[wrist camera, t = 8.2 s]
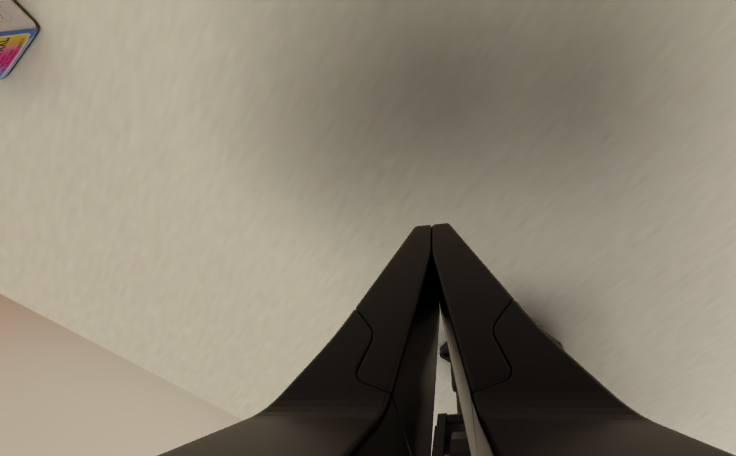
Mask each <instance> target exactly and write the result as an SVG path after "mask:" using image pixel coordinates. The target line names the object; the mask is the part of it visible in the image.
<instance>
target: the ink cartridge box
mask: <svg viewBox="0 0 736 456" xmlns="http://www.w3.org/2000/svg"><path fill="white" fill-rule="evenodd" d="M37 31H38V29H37V27H36V25H35V23H34V22H33V21H32V20H31V19H30V18H29V17H28V16H27V15H26V14H25V13H24V12H23V11H22V10H21V9H20V8H19V7H18V6H17V5H16V4H15V3H14V2H13V1H12V0H0V79H3V78H5V77H6V76H7V74H8V73H9V72H10V70H11V69H12V68H13V66H14V65H15V63H16V62H17V60H18V59H19V58H20V56H21V55H22V53H23V52H24V51H25V49H26V48H27V46H28V45H29V43H30V42H31V41H32V39H33V38H34V36H35V35H36V33H37Z"/></svg>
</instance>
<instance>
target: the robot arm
mask: <svg viewBox="0 0 736 456" xmlns="http://www.w3.org/2000/svg"><path fill="white" fill-rule="evenodd" d="M439 302H440V303H439ZM440 309H441V315H442V320H443V325H444V329H445V334H446V339H447V343H446V344H445V345H444V346H443V347H441V348H440V357H441V358H443V359H445V360H446V361H448V362H450V363H451V376H452V389H453V391H454V392H456V397H457V412H458V414H450V415H447V413H442V414H438V418H437V426H435V431H434V441H433V450H432V456H735V455H733V454H730V453H728V452H725V451H723V450H721V449H718V448H716V447H713V446H711V445H708V444H706V443H703V442H701V441H699V440H696V439H694V438H691V437H689V436H686V435H684V434H681V433H679V432H677V431H674V430H672V429H669V428H667V427H664V426H662V425H660V424H657V423H655V422H653V421H651V420H649V419H647V418H645V417H644V416H642V415H640V414H639V413H637V412H636V411H634V410H633V409H631V408H630V407H628V406H627V405H626V404H624V403H623V402H622V401H620V400H619V399H618V398H617V397H616V396H614V395H613V394H612V393H611V392H610V391H609V390H608V389H606V388H605V387H604V386H603V385H602V384H601V383H600V382H599V381H598V380H596V379H595V378H594V377H593V376H592V375H591V374H590V373H589V372H588V371H586V370H585V369H584V368H583V367H582V366H581V365H580V364H579V363H578V362H576V361H575V360H574V359H573V358H572V357H571V356H570V355H569V354H568V353H566V352H565V351H564V349H563V346H562V345H561V344H560V343H558V342H556V341H555V340H553V339H551V338H550V337H549V336H548V335H547V334H546V333H545V332H544V331H543V330H542V329H541V328H540V327H539V326H538V325H537V324H536V323H535V322H534V321H533V320H532V319H531V318H530V316H529V315H528V314H527V313H526V312H525V311H524V310H523V309H522V308H521V306H520V305H519V304H518V303H517V302H516V301H514V298H513V297H512V296H511V295H510V294H509V293H508V292H507V290H506V289H505V288H504V287H503V286H502V285H501V283H500V282H499V281H498V280H497V279H496V278H495V276H494V275H493V274H492V273H491V272H490V271H489V270H488V268H487V267H486V266H485V265H484V264H483V263H482V261H481V260H480V259H479V258H478V257H477V256H476V255H475V253H474V252H473V251H472V250H471V249H470V248H469V246H468V245H467V244H466V243H465V242H464V241H463V239H462V238H461V237H460V236H459V235H458V234H457V233H456V231H455V230H454V229H453V228H452V227H451V226H450V225H449V224H448V223H444V224H435V225H433V226H432V227H431V226H430V225H425V226H417V227H415V228H414V229H413V230H412V232H411V233H410V235H409V236H408V237H407V239H406V240H405V241H404V243H403V244H402V245H401V247H400V248H399V250H398V251H397V252H396V254H395V255H394V256H393V258H392V259H391V261H390V262H389V263H388V265H387V266H386V267H385V269H384V270H383V271H382V273H381V274H380V276H379V277H378V278H377V280H376V281H375V282H374V284H373V285H372V286H371V288H370V289H369V291H368V292H367V293H366V295H365V296H364V297H363V299H362V300H361V302H360V303H359V304H358V306H357V307H356V310H354V311H353V312H352V314H351V315H350V316H349V318H348V319H347V320H346V322H345V323H344V324H343V326H342V327H341V328H340V329H339V331H338V332H337V333H336V335H335V336H334V337H333V338H332V339H331V340H330V342H329V343H328V344H327V345H326V346H325V347H324V348H323V350H322V351H321V352H320V353H319V354H318V355H317V356H316V357H315V358H314V359H313V361H312V362H311V363H310V364H309V365H308V366H307V367H306V368H305V369H304V370H303V371H302V372H301V374H300V375H299V376H298V377H297V378H296V379H295V380H294V381H293V382H292V383H291V384H290V385H289V387H288V388H287V389H286V390H285V391H284V392H283V393H282V394H281V395H280V396H279V397H278V398H277V399H276V400H275V401H274V402H273V403H272V404H270V405H269V406H268V407H267V408H265V409H264V410H263V411H261V412H260V413H258V414H256V415H255V416H253V417H251V418H248V419H246V420H244V421H241V422H239V423H237V424H234V425H232V426H229V427H227V428H224V429H222V430H219V431H217V432H215V433H212V434H209V435H207V436H205V437H202V438H200V439H197V440H195V441H192V442H190V443H187V444H185V445H183V446H180V447H178V448H175V449H173V450H170V451H168V452H165V453H163V454H160V455H158V456H431V444H432V428H433V412H434V397H435V381H436V365H437V349H438V333H439V317H440Z"/></svg>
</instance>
